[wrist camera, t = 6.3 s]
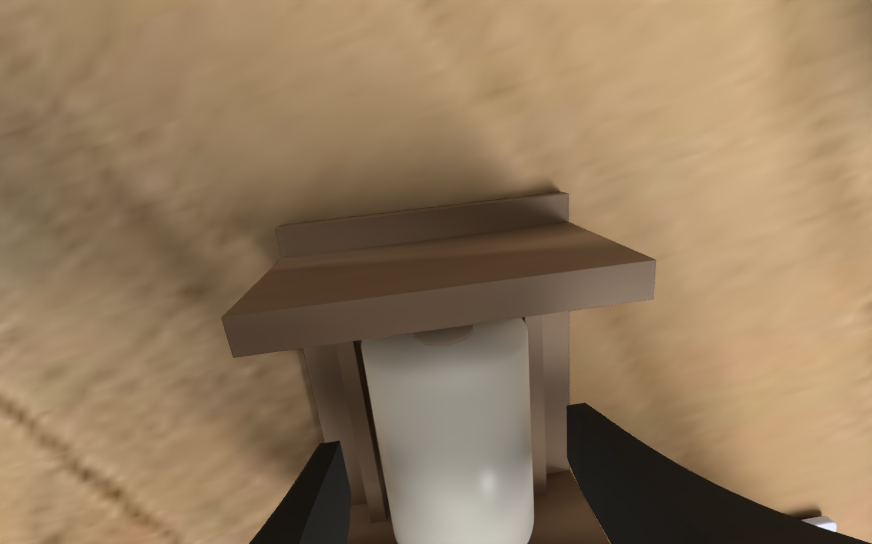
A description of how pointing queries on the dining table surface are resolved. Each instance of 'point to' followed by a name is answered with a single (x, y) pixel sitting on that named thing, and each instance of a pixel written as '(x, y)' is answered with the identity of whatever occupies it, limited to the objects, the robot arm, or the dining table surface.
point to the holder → (439, 324)
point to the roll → (455, 432)
